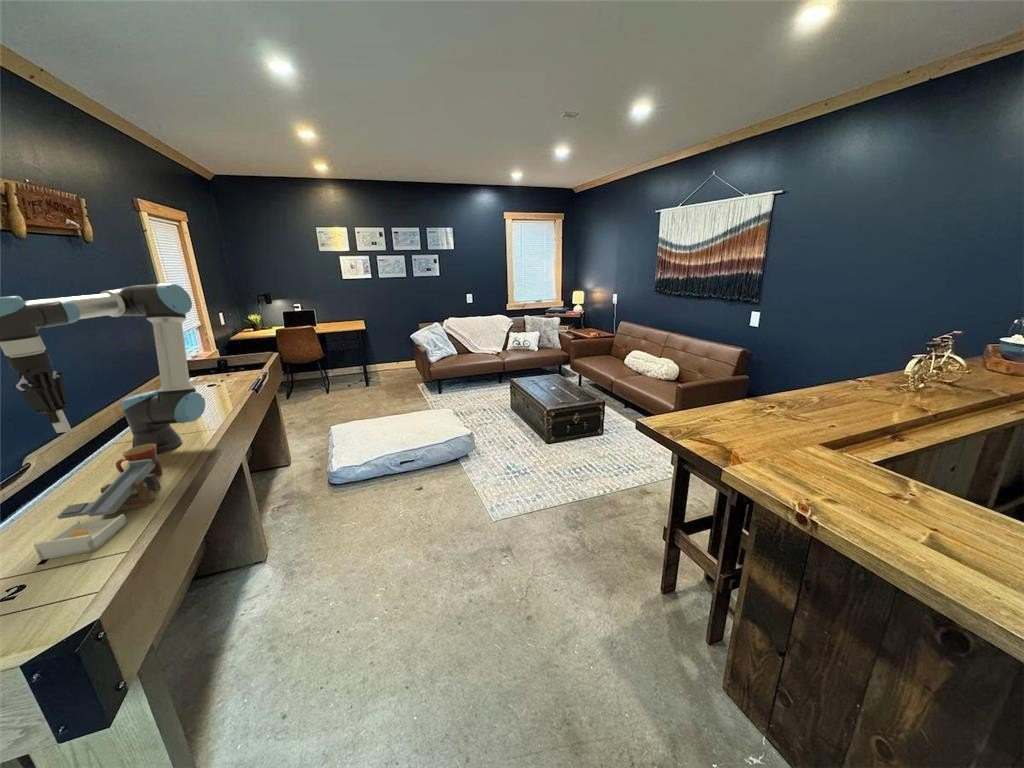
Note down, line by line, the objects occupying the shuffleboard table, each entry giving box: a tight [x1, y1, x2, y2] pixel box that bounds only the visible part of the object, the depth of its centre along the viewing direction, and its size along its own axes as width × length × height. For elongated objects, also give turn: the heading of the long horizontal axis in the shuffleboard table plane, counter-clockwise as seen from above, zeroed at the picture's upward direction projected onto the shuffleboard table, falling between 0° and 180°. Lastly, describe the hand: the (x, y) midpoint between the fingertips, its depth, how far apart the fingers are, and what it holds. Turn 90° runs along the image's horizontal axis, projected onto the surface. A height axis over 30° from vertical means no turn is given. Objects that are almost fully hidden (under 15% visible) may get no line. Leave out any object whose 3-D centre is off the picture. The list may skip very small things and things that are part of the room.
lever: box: [56, 459, 155, 520], centre depth 117 cm, size 20×14×3 cm
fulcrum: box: [100, 473, 162, 512], centre depth 123 cm, size 12×11×8 cm
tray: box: [33, 513, 129, 561], centre depth 104 cm, size 12×12×4 cm
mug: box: [115, 444, 163, 477], centre depth 135 cm, size 12×9×10 cm
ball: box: [70, 529, 89, 537], centre depth 103 cm, size 3×3×3 cm
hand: (64, 431), depth 117 cm, fingers closed
